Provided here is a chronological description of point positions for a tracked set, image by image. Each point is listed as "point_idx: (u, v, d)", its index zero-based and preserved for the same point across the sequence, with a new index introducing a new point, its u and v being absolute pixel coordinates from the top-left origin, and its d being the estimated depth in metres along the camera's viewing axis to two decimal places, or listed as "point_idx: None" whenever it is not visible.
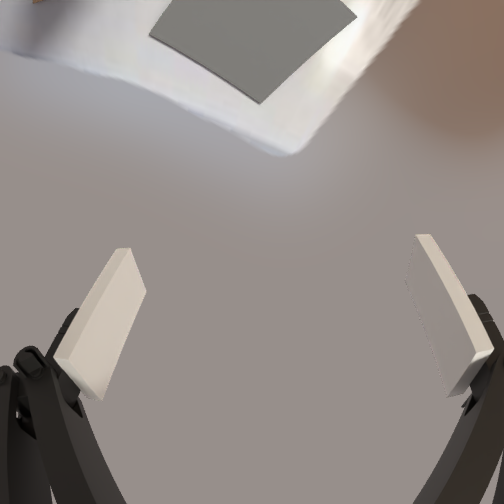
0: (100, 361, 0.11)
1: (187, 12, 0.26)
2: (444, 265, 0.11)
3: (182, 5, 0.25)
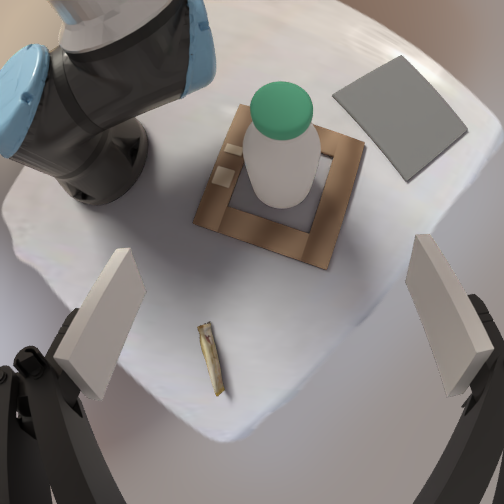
0: (100, 361, 0.11)
1: (396, 146, 0.39)
2: (444, 265, 0.11)
3: (390, 147, 0.40)
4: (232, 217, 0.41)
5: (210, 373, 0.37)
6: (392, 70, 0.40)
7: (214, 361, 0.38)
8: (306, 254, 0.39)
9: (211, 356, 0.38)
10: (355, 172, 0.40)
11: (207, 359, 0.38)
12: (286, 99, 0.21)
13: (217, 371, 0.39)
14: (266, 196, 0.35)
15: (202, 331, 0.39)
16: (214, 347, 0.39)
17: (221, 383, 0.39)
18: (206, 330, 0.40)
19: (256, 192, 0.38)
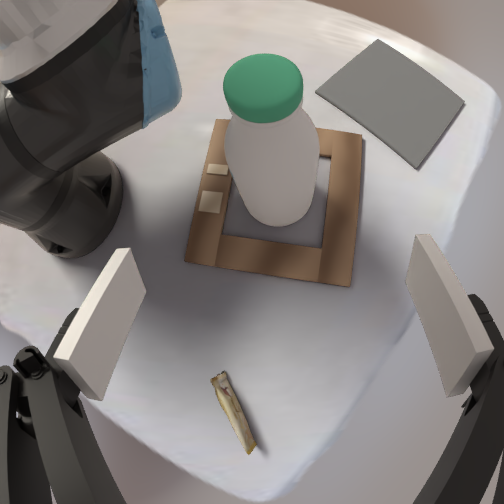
0: (100, 361, 0.11)
1: (397, 133, 0.35)
2: (444, 265, 0.11)
3: (390, 135, 0.35)
4: (228, 246, 0.35)
5: (236, 430, 0.29)
6: (372, 55, 0.37)
7: (238, 415, 0.30)
8: (323, 273, 0.33)
9: (233, 410, 0.30)
10: (359, 169, 0.34)
11: (229, 415, 0.30)
12: (267, 71, 0.16)
13: (243, 426, 0.30)
14: (264, 211, 0.29)
15: (217, 384, 0.31)
16: (235, 399, 0.32)
17: (251, 438, 0.31)
18: (222, 381, 0.32)
19: (251, 210, 0.32)
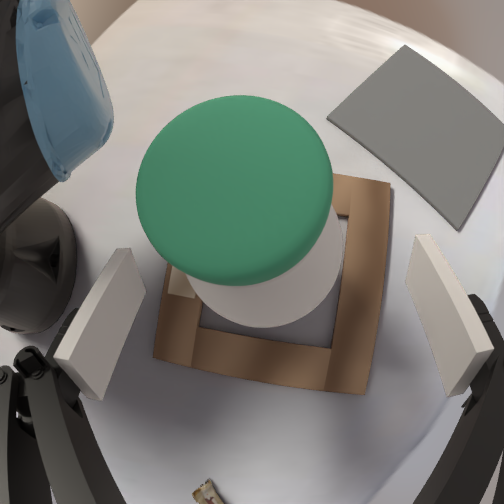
0: (100, 361, 0.11)
1: (435, 179, 0.25)
2: (444, 265, 0.11)
3: (427, 182, 0.25)
4: (208, 344, 0.25)
5: None
6: (399, 67, 0.28)
7: None
8: (331, 380, 0.24)
9: None
10: (386, 235, 0.25)
11: None
12: (242, 150, 0.07)
13: None
14: None
15: (201, 496, 0.22)
16: None
17: None
18: (206, 491, 0.23)
19: None
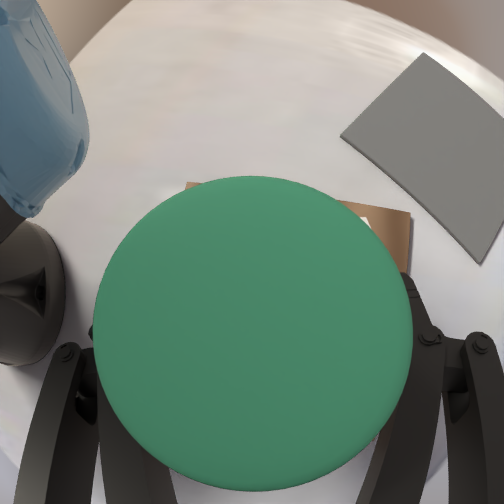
0: None
1: (457, 207, 0.22)
2: None
3: (449, 211, 0.23)
4: None
5: None
6: (418, 77, 0.25)
7: None
8: None
9: None
10: None
11: None
12: (266, 296, 0.04)
13: None
14: None
15: None
16: None
17: None
18: None
19: None
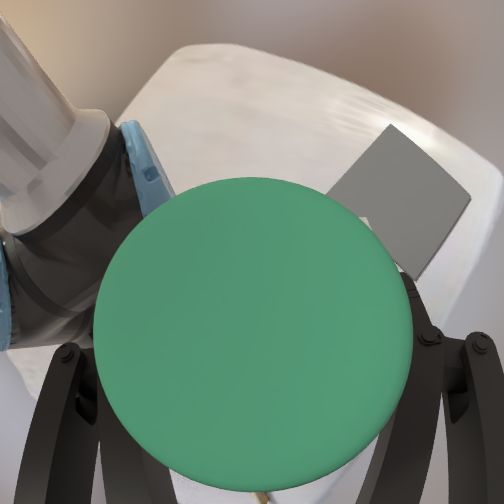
0: None
1: (400, 243, 0.38)
2: None
3: (393, 246, 0.38)
4: None
5: (251, 493, 0.33)
6: (383, 147, 0.40)
7: None
8: None
9: None
10: None
11: None
12: (266, 299, 0.04)
13: None
14: None
15: None
16: None
17: (264, 495, 0.34)
18: None
19: None
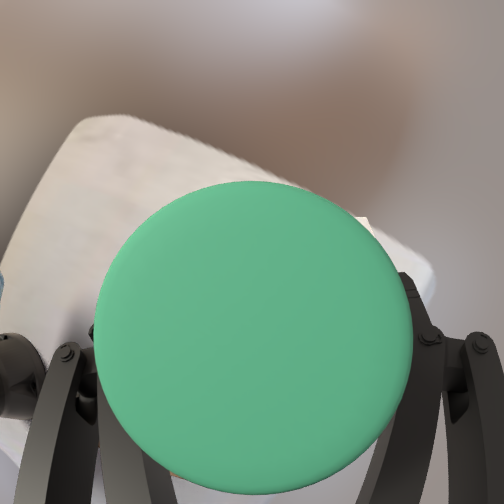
0: None
1: None
2: None
3: None
4: None
5: None
6: None
7: None
8: None
9: None
10: None
11: None
12: (267, 303, 0.04)
13: None
14: None
15: None
16: None
17: None
18: None
19: None
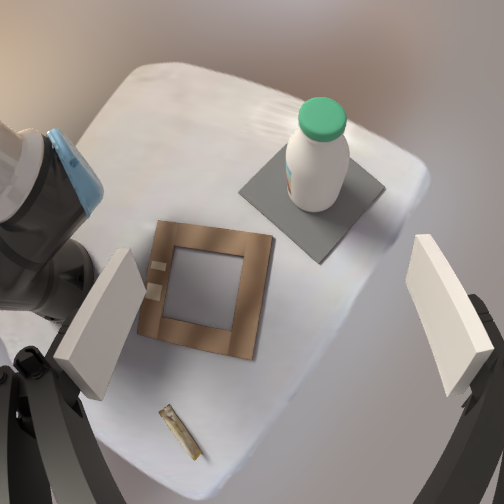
0: (100, 361, 0.11)
1: (305, 230, 0.46)
2: (444, 265, 0.11)
3: (298, 233, 0.46)
4: (166, 326, 0.46)
5: (182, 444, 0.41)
6: None
7: (182, 434, 0.42)
8: (231, 349, 0.44)
9: (178, 431, 0.41)
10: (265, 267, 0.46)
11: (175, 434, 0.41)
12: (325, 109, 0.28)
13: (188, 440, 0.42)
14: (308, 200, 0.41)
15: (164, 414, 0.42)
16: (179, 423, 0.43)
17: (197, 448, 0.42)
18: (168, 412, 0.43)
19: (297, 200, 0.43)
